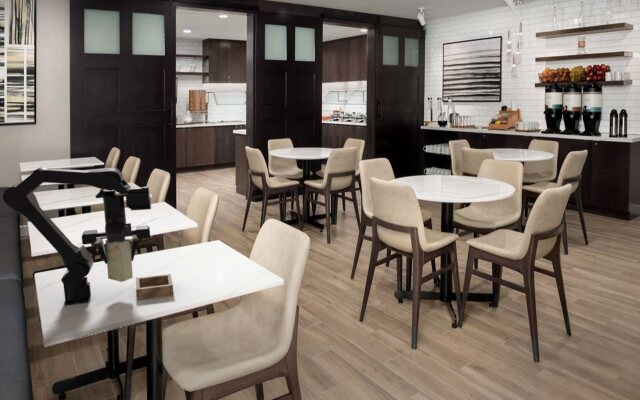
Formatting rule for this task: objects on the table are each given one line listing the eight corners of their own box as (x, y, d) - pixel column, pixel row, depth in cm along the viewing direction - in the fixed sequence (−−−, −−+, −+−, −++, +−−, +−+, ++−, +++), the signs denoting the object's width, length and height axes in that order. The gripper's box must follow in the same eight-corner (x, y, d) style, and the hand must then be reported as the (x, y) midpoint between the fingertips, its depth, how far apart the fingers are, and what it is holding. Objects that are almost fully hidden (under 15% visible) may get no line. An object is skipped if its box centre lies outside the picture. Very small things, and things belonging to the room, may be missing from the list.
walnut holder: (136, 300, 157) (135, 289, 156) (136, 287, 166) (135, 277, 166) (173, 295, 160) (172, 285, 159) (171, 283, 170) (170, 273, 169)
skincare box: (107, 279, 159) (103, 240, 156) (119, 274, 163) (116, 236, 160) (122, 282, 156) (118, 242, 153) (134, 277, 160) (130, 239, 157)
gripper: (77, 220, 144) (83, 274, 148) (148, 214, 150) (152, 266, 154) (81, 211, 155) (86, 262, 158) (147, 206, 161) (151, 255, 164)
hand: (119, 262), depth 158 cm, fingers closed on skincare box, 7 cm apart
